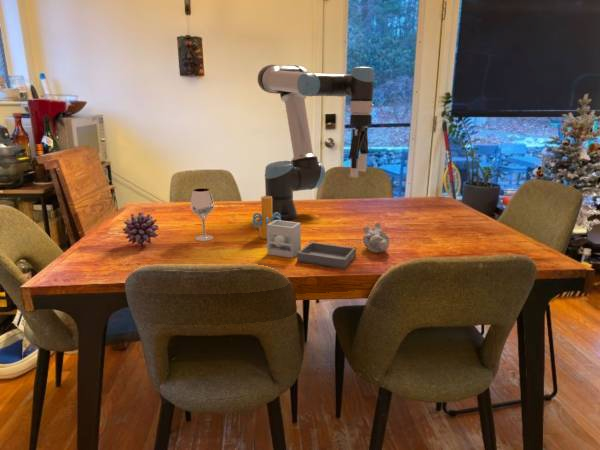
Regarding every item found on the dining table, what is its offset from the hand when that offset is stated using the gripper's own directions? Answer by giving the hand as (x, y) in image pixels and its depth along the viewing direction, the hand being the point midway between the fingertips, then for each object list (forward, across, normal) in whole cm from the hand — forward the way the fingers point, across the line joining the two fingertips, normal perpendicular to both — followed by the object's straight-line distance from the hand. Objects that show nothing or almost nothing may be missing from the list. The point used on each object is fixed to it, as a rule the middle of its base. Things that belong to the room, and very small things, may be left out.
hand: (358, 174), depth 157 cm
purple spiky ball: (+23, -40, +66) cm, 80 cm away
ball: (+19, -29, +19) cm, 40 cm away
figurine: (+23, -17, -10) cm, 30 cm away
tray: (+22, -30, +2) cm, 38 cm away
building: (+23, -29, +17) cm, 41 cm away
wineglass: (+23, -26, +50) cm, 61 cm away
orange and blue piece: (+23, -16, +30) cm, 41 cm away
